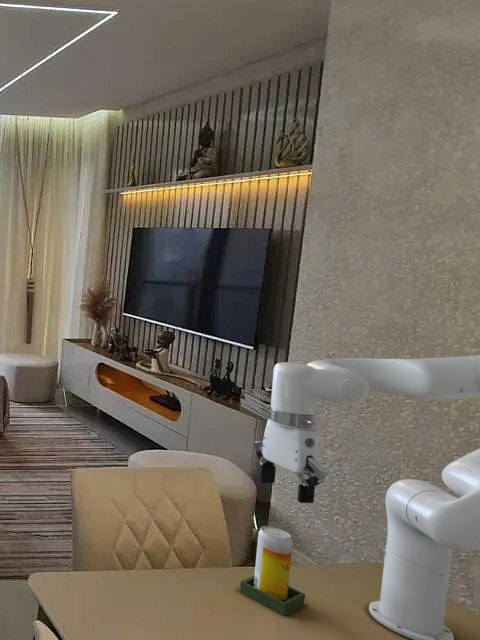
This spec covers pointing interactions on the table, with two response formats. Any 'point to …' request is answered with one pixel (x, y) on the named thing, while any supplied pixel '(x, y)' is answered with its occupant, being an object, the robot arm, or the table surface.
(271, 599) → the can tray
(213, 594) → the table surface
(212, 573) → the table surface
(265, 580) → the beer can
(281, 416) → the robot arm
